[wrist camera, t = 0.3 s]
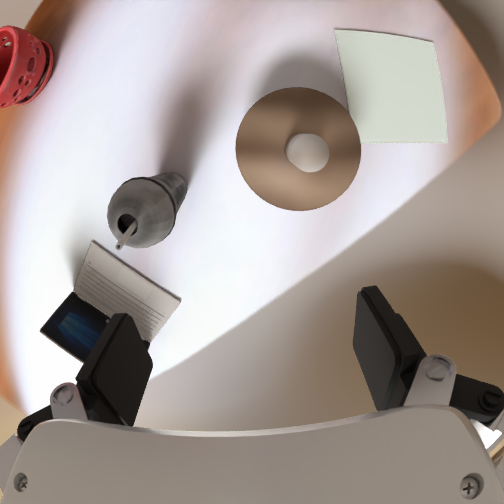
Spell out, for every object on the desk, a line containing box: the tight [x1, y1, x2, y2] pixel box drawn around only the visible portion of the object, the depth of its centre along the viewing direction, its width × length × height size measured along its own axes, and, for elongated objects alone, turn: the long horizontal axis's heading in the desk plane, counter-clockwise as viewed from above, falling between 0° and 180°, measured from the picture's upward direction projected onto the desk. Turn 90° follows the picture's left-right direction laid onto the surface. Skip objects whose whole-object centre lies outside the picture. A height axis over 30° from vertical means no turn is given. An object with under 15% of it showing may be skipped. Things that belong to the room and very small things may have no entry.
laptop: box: [40, 242, 181, 364], centre depth 39 cm, size 18×12×13 cm
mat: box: [334, 30, 448, 144], centre depth 30 cm, size 17×17×1 cm
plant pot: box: [0, 26, 53, 108], centre depth 22 cm, size 13×13×12 cm
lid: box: [236, 87, 361, 211], centre depth 27 cm, size 14×14×6 cm
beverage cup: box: [107, 172, 187, 250], centre depth 28 cm, size 7×7×20 cm
